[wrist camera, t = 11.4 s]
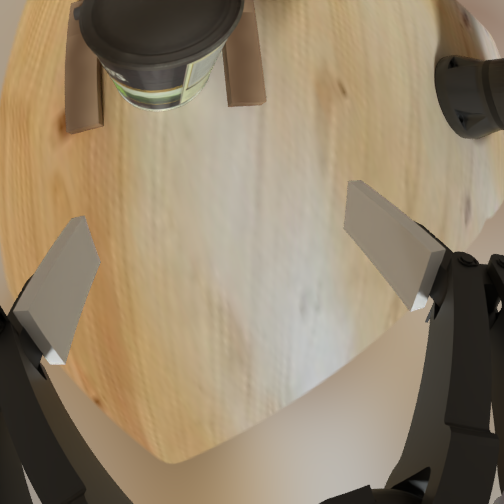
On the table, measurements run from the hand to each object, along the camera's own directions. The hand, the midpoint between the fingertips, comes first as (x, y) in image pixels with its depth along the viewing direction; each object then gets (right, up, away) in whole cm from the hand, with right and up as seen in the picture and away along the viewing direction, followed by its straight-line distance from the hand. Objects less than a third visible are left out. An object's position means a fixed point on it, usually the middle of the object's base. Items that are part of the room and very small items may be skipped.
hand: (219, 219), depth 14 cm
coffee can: (-8, +17, +11) cm, 22 cm away
